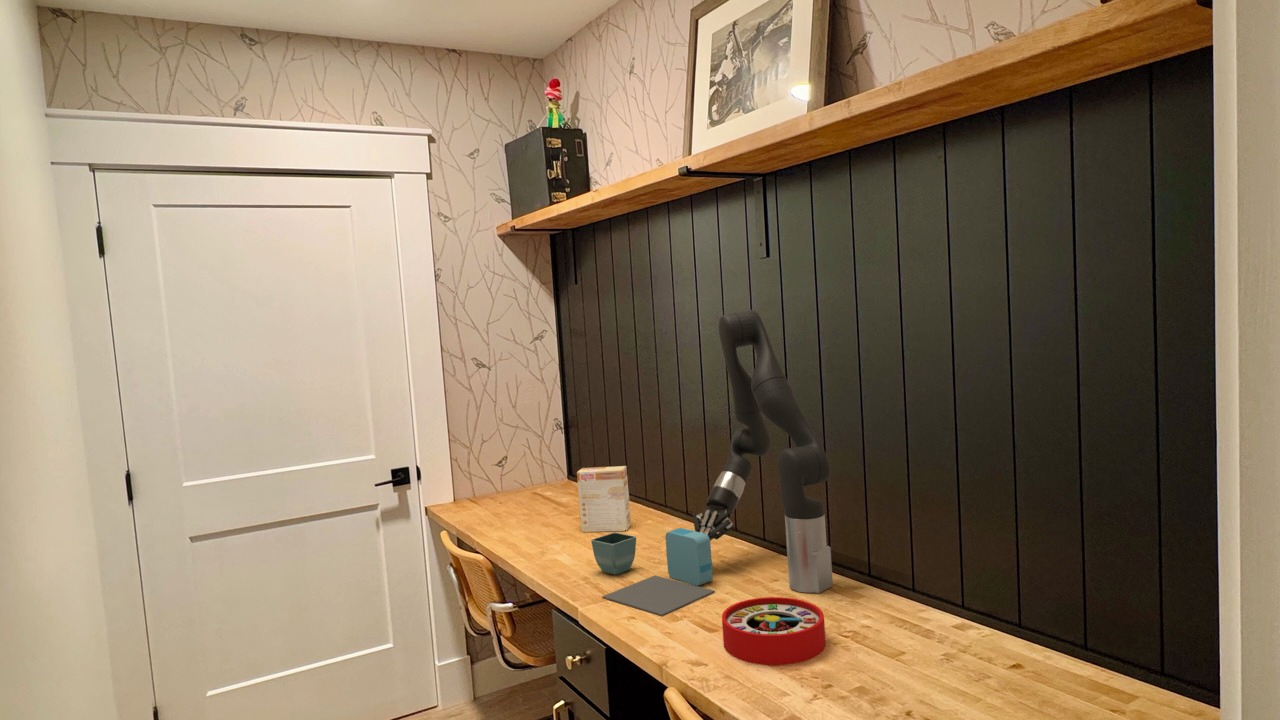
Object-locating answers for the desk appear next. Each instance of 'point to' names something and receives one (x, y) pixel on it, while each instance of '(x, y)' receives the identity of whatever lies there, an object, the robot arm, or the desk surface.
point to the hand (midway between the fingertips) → (698, 550)
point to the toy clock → (773, 630)
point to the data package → (689, 556)
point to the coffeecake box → (604, 499)
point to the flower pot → (614, 552)
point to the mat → (658, 595)
